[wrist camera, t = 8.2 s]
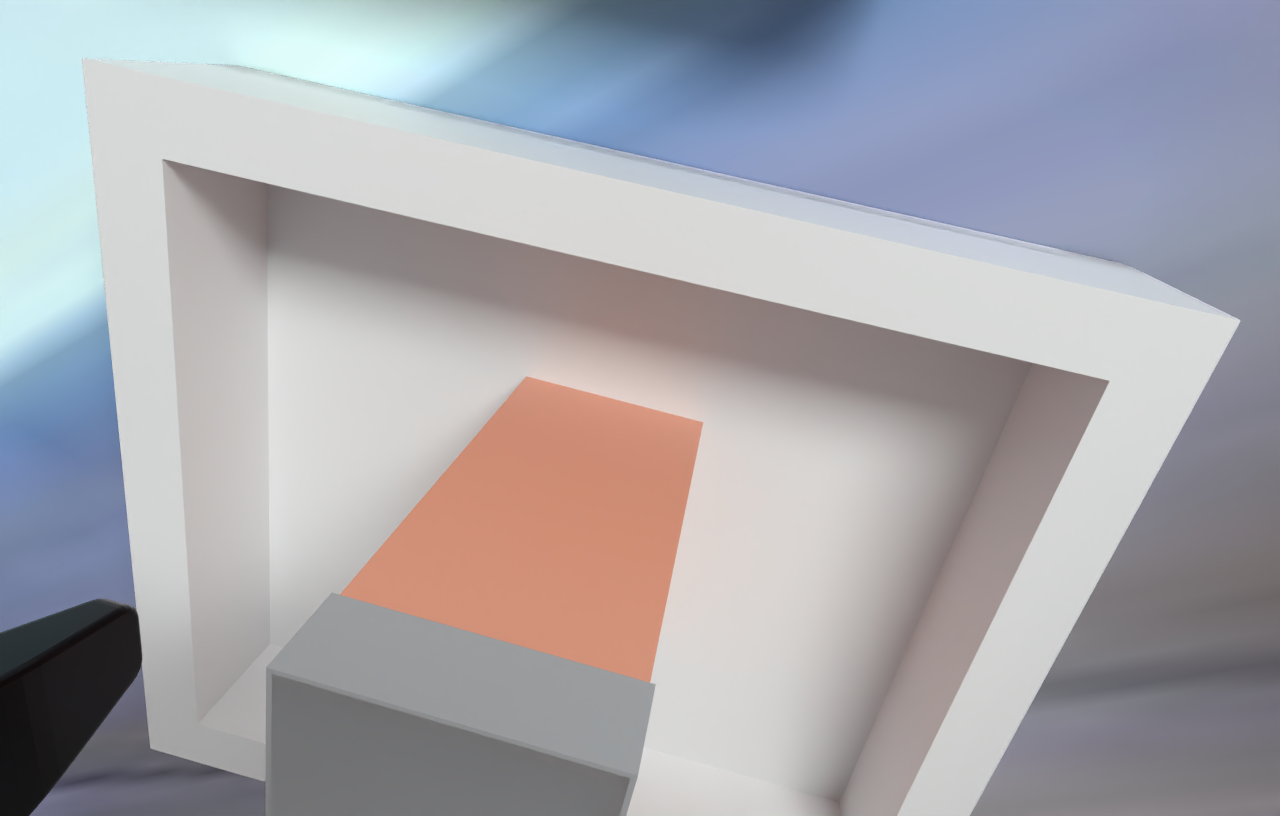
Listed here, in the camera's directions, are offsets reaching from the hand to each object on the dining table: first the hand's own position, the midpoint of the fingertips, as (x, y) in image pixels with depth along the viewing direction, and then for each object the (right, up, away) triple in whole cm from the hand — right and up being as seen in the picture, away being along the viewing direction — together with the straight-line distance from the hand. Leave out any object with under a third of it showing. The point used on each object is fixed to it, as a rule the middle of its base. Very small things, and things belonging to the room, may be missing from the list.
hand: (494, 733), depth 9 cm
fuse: (+1, +2, +5) cm, 5 cm away
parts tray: (+1, +2, +5) cm, 6 cm away
